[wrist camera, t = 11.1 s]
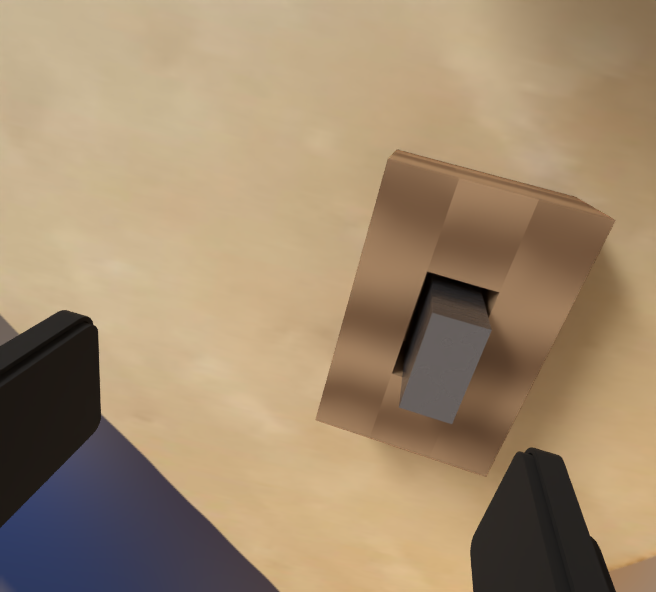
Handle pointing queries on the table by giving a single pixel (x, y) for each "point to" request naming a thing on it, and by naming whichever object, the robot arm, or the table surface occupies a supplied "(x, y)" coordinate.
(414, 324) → the grey rectangular block
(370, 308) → the tan slotted block
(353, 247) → the table surface
